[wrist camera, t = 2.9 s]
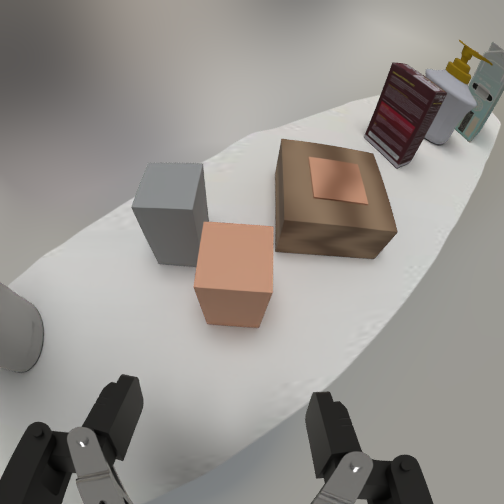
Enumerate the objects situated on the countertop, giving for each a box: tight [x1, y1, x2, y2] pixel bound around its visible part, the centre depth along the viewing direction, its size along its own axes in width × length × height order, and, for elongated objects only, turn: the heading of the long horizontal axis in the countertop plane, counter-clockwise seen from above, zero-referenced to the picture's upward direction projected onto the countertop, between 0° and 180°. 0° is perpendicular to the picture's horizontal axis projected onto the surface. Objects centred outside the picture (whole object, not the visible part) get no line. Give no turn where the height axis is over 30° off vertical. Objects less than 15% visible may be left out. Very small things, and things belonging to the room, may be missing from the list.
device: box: [455, 42, 504, 142], centre depth 41 cm, size 16×8×30 cm, turn 127°
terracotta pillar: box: [194, 222, 273, 328], centre depth 23 cm, size 5×5×10 cm
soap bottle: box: [424, 40, 493, 144], centre depth 36 cm, size 13×13×25 cm
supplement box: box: [364, 63, 447, 168], centre depth 34 cm, size 9×5×16 cm, turn 31°
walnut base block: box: [275, 139, 397, 259], centre depth 31 cm, size 12×12×6 cm
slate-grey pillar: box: [132, 163, 209, 267], centre depth 25 cm, size 5×5×10 cm
